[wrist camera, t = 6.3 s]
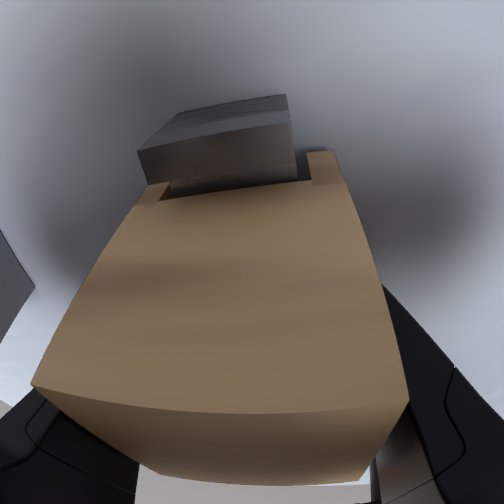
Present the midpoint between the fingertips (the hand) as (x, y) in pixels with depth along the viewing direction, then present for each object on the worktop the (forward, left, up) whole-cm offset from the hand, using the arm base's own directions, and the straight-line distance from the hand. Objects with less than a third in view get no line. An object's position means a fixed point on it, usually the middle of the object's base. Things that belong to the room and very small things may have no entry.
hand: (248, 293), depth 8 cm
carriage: (0, 0, -3) cm, 3 cm away
